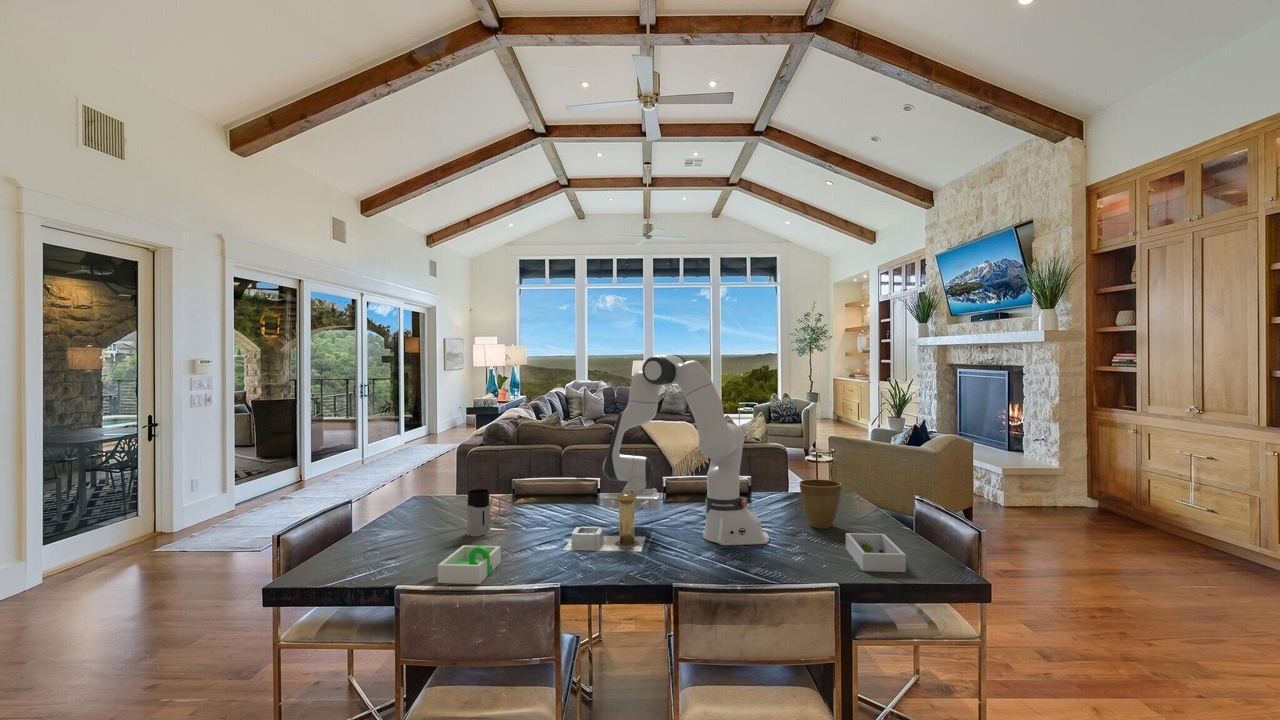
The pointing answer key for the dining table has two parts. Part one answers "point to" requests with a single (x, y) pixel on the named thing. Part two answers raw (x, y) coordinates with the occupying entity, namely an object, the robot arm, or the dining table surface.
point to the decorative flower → (868, 546)
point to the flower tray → (882, 562)
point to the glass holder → (479, 512)
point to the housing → (599, 541)
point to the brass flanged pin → (626, 518)
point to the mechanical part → (474, 561)
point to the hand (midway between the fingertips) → (628, 506)
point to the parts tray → (467, 566)
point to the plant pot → (820, 501)
